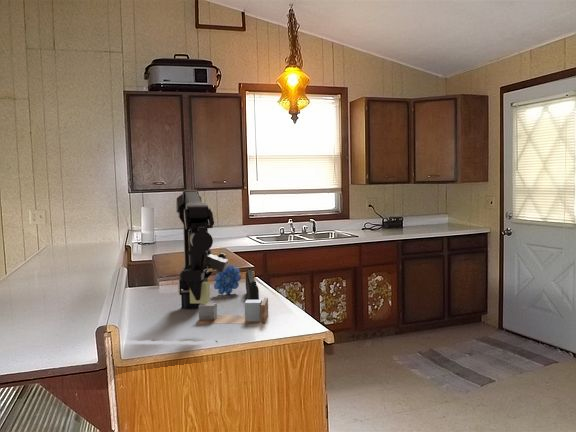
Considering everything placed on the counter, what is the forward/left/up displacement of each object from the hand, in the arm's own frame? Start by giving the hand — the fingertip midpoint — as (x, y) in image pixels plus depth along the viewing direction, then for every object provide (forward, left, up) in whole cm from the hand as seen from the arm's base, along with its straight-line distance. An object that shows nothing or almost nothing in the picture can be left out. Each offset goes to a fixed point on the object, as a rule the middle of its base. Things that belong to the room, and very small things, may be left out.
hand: (200, 298), depth 141 cm
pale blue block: (+14, +11, -10) cm, 21 cm away
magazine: (+10, +37, -11) cm, 40 cm away
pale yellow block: (0, 0, -1) cm, 1 cm away
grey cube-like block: (-1, +11, -10) cm, 15 cm away
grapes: (-2, +50, -11) cm, 51 cm away
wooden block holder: (+8, +11, -11) cm, 17 cm away
